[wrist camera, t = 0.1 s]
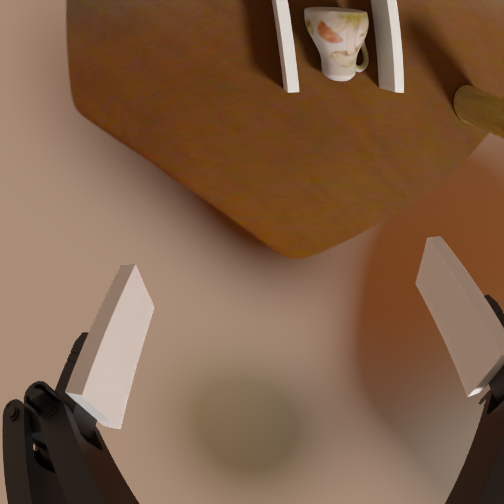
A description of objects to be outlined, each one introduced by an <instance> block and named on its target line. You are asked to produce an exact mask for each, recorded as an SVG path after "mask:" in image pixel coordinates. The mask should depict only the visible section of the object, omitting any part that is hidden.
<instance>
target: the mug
mask: <svg viewBox="0 0 504 504" xmlns="http://www.w3.org/2000/svg"><path fill="white" fill-rule="evenodd" d="M304 19H305V24H306V27H307V30H308V32H309V34H310V36H311V37H312V39H313V41H314V43H315V45H316V47H317V49H318V51H319V53H320V57H321V64H322V72H323V74H325V76H326V77H328V78H329V79H332V80H335V81H347V80H350V79H351V78H352V77H353V76H354V75H355V71H356V72H362V71H363V70H365V69H366V67H367V66H368V63H369V57H368V51H367V49H366V45H365V41H364V39H365V37H366V34H367V31H368V25H369V21H368V15H367V12H365V11H362V10H357V9H349V8H339V7H309V8H305V9H304ZM360 48H361V51H362V55H363V63H362V64H361V65H356V58H357V54H358V52H359V49H360Z"/></svg>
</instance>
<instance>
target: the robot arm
mask: <svg viewBox="0 0 504 504" xmlns="http://www.w3.org/2000/svg"><path fill="white" fill-rule="evenodd" d="M415 284H416V286H417V287H418V289H419V291H420V293H421V295H422V297H423V299H424V301H425V303H426V304H427V306H428V308H429V310H430V312H431V314H432V316H433V318H434V320H435V323H436V324H437V327H438V329H439V331H440V333H441V335H442V337H443V339H444V342H445V344H446V346H447V348H448V350H449V353H450V355H451V357H452V360H453V362H454V364H455V367H456V369H457V372H458V374H459V376H460V379H461V382H462V384H463V387H464V389H465V392H466V394H467V397H469V396H472V395H474V394H477V393H479V392H481V391H482V390H483V389H484V388H485V387H486V386H487V384H489V386H490V388H491V389H490V390H489V391H488V392H487V394H486V395H485V396H484V397H483V398H482V399H481V400H480V402H479V404H482V403H483V402H484V401H485V400H486V402H485V404H484V409H483V412H482V416H481V419H480V422H479V425H478V428H477V431H476V434H475V437H474V440H473V442H472V445H471V448H470V450H469V453H468V455H467V458H466V460H465V463H464V466H463V467H462V470H461V472H460V474H459V476H458V479H457V481H456V483H455V485H454V487H453V489H452V491H451V493H450V495H449V497H448V499H447V501H446V503H445V504H504V314H503V311H502V309H501V308H500V306H499V305H498V303H497V302H496V301H495V300H494V299H492V297H490V296H489V295H485V296H484V295H483V294H482V292H481V291H480V289H479V288H478V286H477V285H476V283H475V282H474V281H473V279H472V278H471V276H470V275H469V273H468V272H467V271H466V269H465V268H464V267H463V265H462V264H461V262H460V261H459V260H458V258H457V257H456V256H455V254H454V253H453V252H452V250H451V249H450V248H449V246H448V245H447V244H446V243H445V241H444V240H443V239H442V238H441V237H440V236H439V237H428V238H427V241H426V246H425V250H424V254H423V258H422V262H421V266H420V269H419V273H418V276H417V280H416V283H415ZM153 311H154V305H153V303H152V301H151V298H150V296H149V294H148V292H147V290H146V287H145V285H144V283H143V281H142V278H141V276H140V274H139V271H138V269H137V266H136V265H135V264H133V265H122V266H121V267H120V269H119V271H118V273H117V275H116V277H115V279H114V281H113V283H112V285H111V286H110V289H109V291H108V293H107V295H106V297H105V299H104V301H103V303H102V305H101V307H100V309H99V311H98V314H97V316H96V318H95V320H94V322H93V324H92V327H91V329H90V331H89V333H85V332H84V333H82V334H81V335H80V337H79V338H78V339H77V340H76V341H75V343H74V345H73V348H72V350H71V354H69V357H68V359H67V362H66V364H65V366H64V369H63V371H62V374H61V376H60V379H59V381H58V384H57V386H56V389H55V391H54V390H53V389H52V388H51V387H50V386H49V385H48V384H46V383H45V382H42V381H38V382H35V383H33V384H32V385H31V386H29V388H28V389H27V391H26V392H25V396H24V404H23V403H22V402H21V401H19V400H17V399H14V400H12V401H10V402H9V403H8V404H7V405H6V407H5V409H4V412H3V461H4V475H5V484H6V492H7V500H8V504H139V502H138V501H137V499H136V498H135V496H134V495H133V493H132V492H131V490H130V488H129V486H128V485H127V483H126V481H125V480H124V478H123V476H122V475H121V473H120V471H119V469H118V467H117V466H116V464H115V462H114V460H113V458H112V456H111V454H110V452H109V450H108V448H107V446H106V444H105V442H104V440H103V438H102V436H101V434H100V432H99V430H98V429H97V427H96V422H97V421H99V422H100V423H101V424H102V425H104V426H106V427H111V428H117V429H121V425H122V421H123V416H124V413H125V409H126V405H127V401H128V397H129V393H130V389H131V385H132V382H133V378H134V374H135V371H136V367H137V364H138V360H139V356H140V353H141V349H142V346H143V343H144V339H145V336H146V333H147V330H148V326H149V323H150V320H151V317H152V314H153ZM33 444H34V445H35V451H34V450H33Z"/></svg>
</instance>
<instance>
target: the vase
mask: <svg viewBox="0 0 504 504" xmlns="http://www.w3.org/2000/svg"><path fill="white" fill-rule="evenodd" d="M454 109H455V112H456V114H457V116H458V117H459V119H460V120H461V121H463V122H464V123H467V124H472V125H474V126H477V127H479V128H481V129H484V130H486V131H488V132H490V133H492V134H494V135H496V136H498V137H500V138H502V139H504V99H503V98H500V97H498V96H495V95H492V94H489V93H487V92H484V91H482V90H479V89H476V88H475V87H473V86H470V85H463V86H461V87H460V88H459V89H458V90H457V91H456V93H455V96H454Z"/></svg>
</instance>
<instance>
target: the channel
mask: <svg viewBox="0 0 504 504" xmlns="http://www.w3.org/2000/svg"><path fill="white" fill-rule="evenodd" d="M272 5H273V11H274V18H275V24H276V31H277V39H278V46H279V53H280V61H281V69H282V77H283V86H284V90H286V91H287V92H288V93H291V92H299V83H298V74H297V65H296V57H295V49H294V41H293V33H292V26H291V19H290V12H289V6H288V0H272ZM371 7H372V14H373V21H374V30H375V39H376V50H377V63H378V79H379V88H382V89H386V90H389V91H393V92H400V93H404V76H403V57H402V44H401V33H400V24H399V16H398V8H397V2H396V0H371Z"/></svg>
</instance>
